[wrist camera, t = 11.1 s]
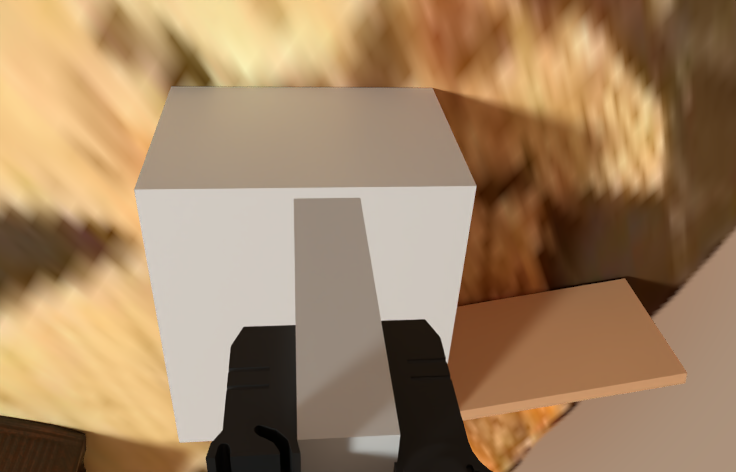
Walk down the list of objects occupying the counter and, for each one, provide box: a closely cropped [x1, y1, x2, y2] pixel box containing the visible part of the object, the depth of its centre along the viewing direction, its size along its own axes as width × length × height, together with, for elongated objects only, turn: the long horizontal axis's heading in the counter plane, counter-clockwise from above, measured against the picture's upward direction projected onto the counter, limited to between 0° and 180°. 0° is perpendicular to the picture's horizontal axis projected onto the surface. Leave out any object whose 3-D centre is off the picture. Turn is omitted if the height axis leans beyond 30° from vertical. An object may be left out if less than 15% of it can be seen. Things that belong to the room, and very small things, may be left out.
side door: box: [448, 278, 687, 420], centre depth 49 cm, size 17×2×10 cm, turn 98°
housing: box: [134, 86, 476, 443], centre depth 42 cm, size 20×16×12 cm
